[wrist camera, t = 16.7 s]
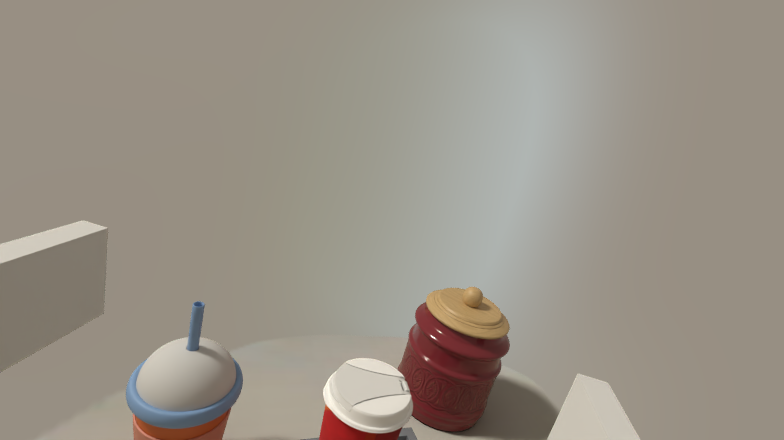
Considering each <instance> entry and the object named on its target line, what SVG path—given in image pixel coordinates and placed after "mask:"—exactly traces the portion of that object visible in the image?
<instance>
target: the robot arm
mask: <svg viewBox="0 0 784 440" xmlns="http://www.w3.org/2000/svg"><path fill="white" fill-rule="evenodd" d="M107 239H108V228H106V227H103V226H100V225H97V224H94V223H90V222H87V221H79V222H76V223H72V224H69V225H65V226H62V227H58V228H55V229H51V230H48V231H44V232H41V233H37V234H34V235H30V236H27V237H24V238H20V239H17V240H13V241H10V242H7V243H3V244H0V372H2V371H4V370H6V369H7V368H9V367H11V366H13V365H14V364H16V363H18V362H20V361H21V360H23V359H25V358H27V357H28V356H30V355H32V354H34V353H35V352H37V351H39V350H41V349H42V348H44V347H46V346H48V345H49V344H51V343H53V342H55V341H56V340H58V339H60V338H62V337H63V336H65V335H67V334H69V333H70V332H72V331H74V330H76V329H77V328H79V327H81V326H83V325H84V324H86V323H88V322H90V321H92V320H93V319H95V318H97V317H99V316H100V315H102V314H104V302H105V301H104V300H105V280H106V260H107ZM547 440H640V438H639V436H638V435H637V433H636V431H635V429H634V428H633V426H632V424H631V422H630V421H629V419H628V417H627V415H626V414H625V412H624V410H623V408H622V406H621V405H620V403H619V401H618V399H617V398H616V396H615V394H614V392H613V391H612V389H611V387H610V385H609V384H608V383H607V382H604V381H600V380H597V379H594V378H591V377H588V376H585V375H581V374H577V376H576V379H575V381H574V383H573V385H572V387H571V389H570V392H569V393H568V396H567V398H566V400H565V402H564V404H563V406H562V408H561V411H560V413H559V415H558V417H557V419H556V421H555V424H554V426H553V428H552V430H551V432H550V434H549V436H548V439H547Z"/></svg>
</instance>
